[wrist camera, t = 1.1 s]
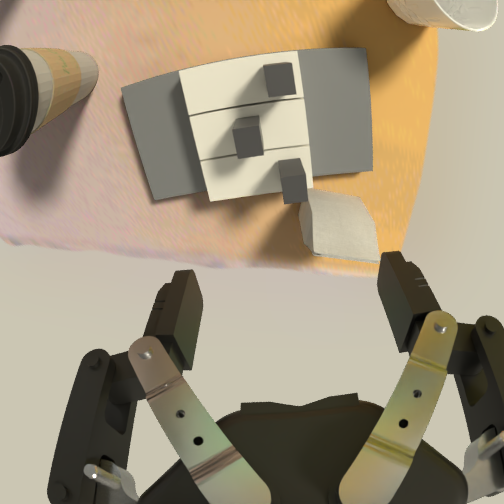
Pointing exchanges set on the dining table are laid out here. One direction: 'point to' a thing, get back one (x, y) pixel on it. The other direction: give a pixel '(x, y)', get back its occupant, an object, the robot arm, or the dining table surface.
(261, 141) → the handle
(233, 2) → the dining table surface
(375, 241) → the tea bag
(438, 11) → the white cup
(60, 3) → the dining table surface
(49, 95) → the coffee cup
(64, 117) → the dining table surface
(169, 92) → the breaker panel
